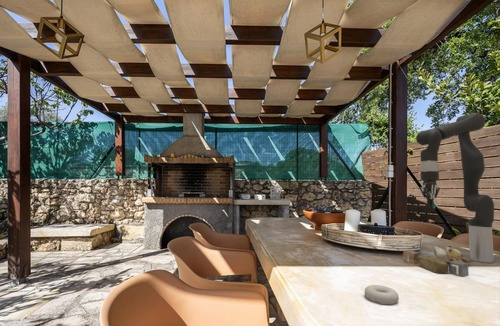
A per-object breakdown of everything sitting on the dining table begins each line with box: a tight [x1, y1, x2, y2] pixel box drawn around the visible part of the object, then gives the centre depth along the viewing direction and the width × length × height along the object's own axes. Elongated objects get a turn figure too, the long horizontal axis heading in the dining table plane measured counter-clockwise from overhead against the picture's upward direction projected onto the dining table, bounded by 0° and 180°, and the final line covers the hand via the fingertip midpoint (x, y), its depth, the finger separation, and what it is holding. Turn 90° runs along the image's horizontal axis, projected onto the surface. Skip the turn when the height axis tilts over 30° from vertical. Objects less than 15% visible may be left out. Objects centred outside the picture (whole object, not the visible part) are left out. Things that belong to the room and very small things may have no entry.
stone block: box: [417, 255, 449, 275], centre depth 122 cm, size 6×12×5 cm, turn 7°
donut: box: [364, 284, 400, 305], centre depth 89 cm, size 10×3×10 cm
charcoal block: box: [448, 260, 469, 278], centre depth 116 cm, size 5×5×5 cm
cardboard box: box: [402, 250, 421, 265], centre depth 133 cm, size 5×5×5 cm
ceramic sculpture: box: [433, 245, 474, 264], centre depth 133 cm, size 11×9×15 cm
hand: (430, 206), depth 132 cm, fingers closed
